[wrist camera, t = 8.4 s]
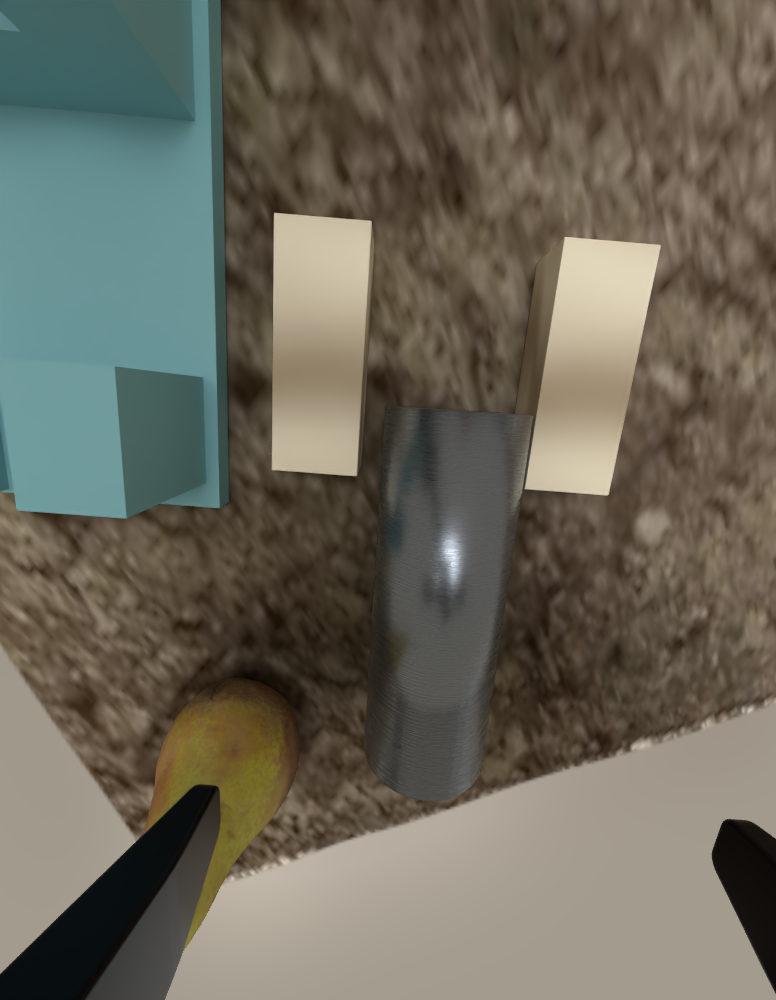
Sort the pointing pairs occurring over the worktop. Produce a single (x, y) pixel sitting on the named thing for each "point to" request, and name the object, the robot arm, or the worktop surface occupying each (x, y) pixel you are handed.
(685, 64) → the worktop surface
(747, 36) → the worktop surface
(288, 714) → the fruit
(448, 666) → the grey rounded rod
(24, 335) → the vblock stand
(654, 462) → the worktop surface
